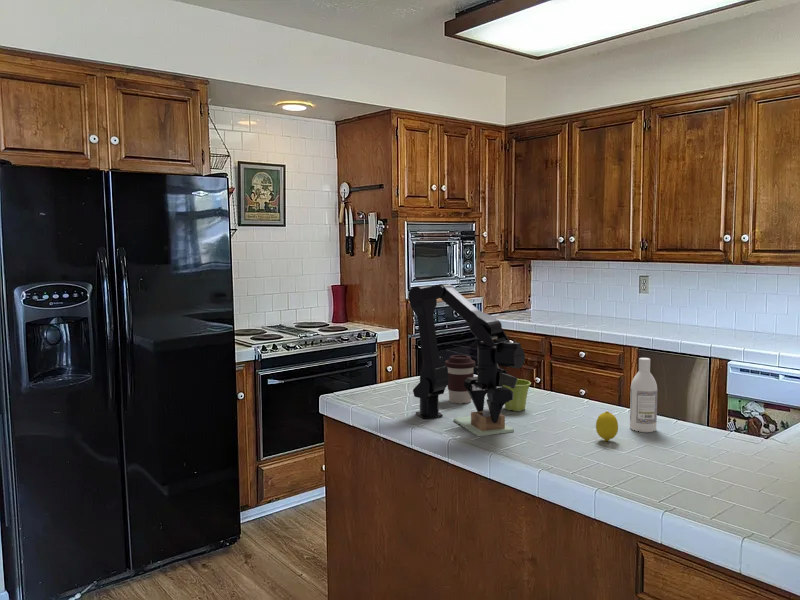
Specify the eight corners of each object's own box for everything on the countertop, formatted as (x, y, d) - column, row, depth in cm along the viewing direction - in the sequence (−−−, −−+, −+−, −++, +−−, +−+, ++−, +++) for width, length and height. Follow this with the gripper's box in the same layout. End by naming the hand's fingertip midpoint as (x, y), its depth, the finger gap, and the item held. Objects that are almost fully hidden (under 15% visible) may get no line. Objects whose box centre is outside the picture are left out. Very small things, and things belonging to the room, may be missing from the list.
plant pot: (521, 404, 206) (521, 377, 205) (536, 411, 197) (536, 383, 196) (494, 406, 203) (495, 379, 202) (509, 414, 194) (509, 386, 193)
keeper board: (453, 420, 187) (453, 403, 187) (487, 417, 191) (487, 399, 191) (478, 436, 172) (478, 417, 172) (513, 431, 176) (514, 413, 176)
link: (470, 424, 181) (471, 412, 181) (493, 421, 183) (493, 409, 183) (482, 431, 174) (482, 418, 174) (504, 428, 177) (504, 416, 176)
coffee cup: (480, 400, 212) (480, 355, 210) (467, 406, 203) (467, 360, 202) (453, 396, 217) (453, 352, 215) (439, 402, 208) (439, 357, 207)
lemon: (619, 445, 164) (619, 414, 163) (596, 443, 165) (597, 413, 164) (616, 438, 169) (616, 409, 169) (594, 437, 170) (595, 408, 170)
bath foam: (661, 431, 175) (663, 359, 173) (641, 434, 173) (643, 361, 171) (644, 424, 182) (646, 355, 180) (624, 427, 179) (625, 357, 177)
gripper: (530, 367, 171) (530, 424, 173) (497, 356, 189) (497, 407, 190) (493, 371, 167) (493, 429, 169) (463, 358, 185) (463, 411, 186)
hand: (487, 418), depth 179 cm, fingers open, 8 cm apart
